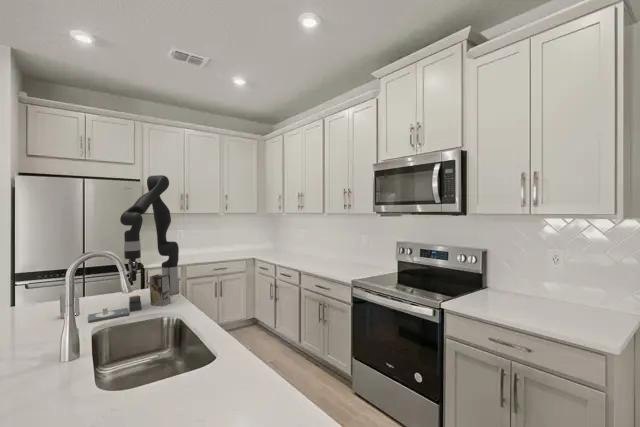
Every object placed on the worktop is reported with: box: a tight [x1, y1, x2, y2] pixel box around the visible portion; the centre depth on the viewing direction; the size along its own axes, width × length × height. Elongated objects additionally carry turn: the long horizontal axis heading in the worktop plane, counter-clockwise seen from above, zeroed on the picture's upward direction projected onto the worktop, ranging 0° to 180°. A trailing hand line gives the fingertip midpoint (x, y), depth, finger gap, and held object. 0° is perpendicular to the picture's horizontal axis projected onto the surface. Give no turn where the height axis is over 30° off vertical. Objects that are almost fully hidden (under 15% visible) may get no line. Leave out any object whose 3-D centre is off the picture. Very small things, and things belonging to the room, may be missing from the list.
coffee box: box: [149, 274, 172, 307], centre depth 182 cm, size 9×6×16 cm
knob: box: [128, 294, 142, 313], centre depth 172 cm, size 5×5×7 cm
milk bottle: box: [59, 277, 81, 319], centre depth 163 cm, size 8×8×20 cm
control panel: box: [87, 307, 130, 324], centre depth 162 cm, size 17×11×4 cm, turn 126°
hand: (133, 279), depth 172 cm, fingers open, 8 cm apart
